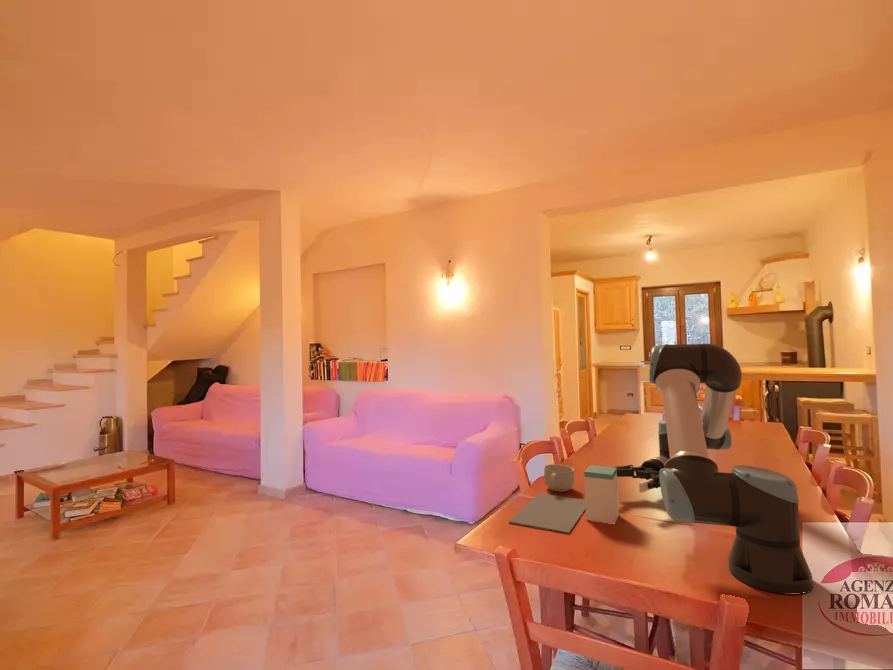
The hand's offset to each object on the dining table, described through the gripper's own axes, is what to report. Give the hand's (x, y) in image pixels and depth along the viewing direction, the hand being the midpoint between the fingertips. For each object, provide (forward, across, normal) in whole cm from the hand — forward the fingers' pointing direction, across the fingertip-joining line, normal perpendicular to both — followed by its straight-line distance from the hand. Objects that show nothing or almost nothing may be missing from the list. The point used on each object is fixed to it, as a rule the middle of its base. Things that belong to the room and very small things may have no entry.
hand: (620, 482), depth 140 cm
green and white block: (+10, 0, -8) cm, 13 cm away
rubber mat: (+18, +13, -8) cm, 24 cm away
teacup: (+1, +25, -9) cm, 27 cm away
